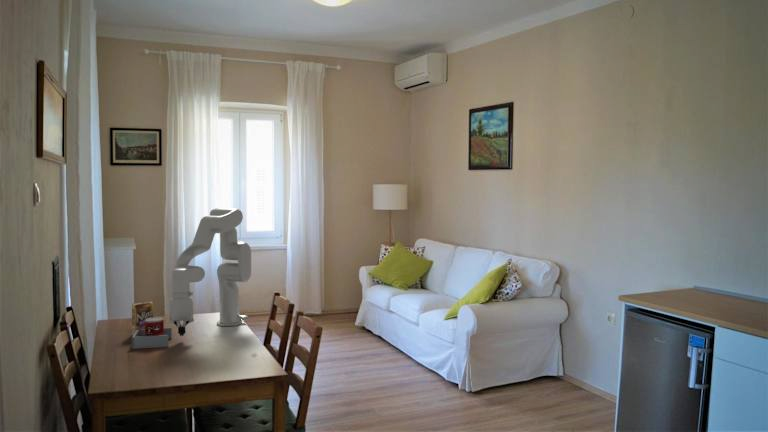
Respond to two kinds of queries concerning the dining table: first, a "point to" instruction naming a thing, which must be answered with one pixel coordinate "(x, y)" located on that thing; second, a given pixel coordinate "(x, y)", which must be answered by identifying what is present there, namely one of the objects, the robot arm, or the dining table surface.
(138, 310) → the candy box
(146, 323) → the canned food
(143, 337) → the box
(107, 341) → the dining table surface
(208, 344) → the dining table surface
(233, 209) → the robot arm
